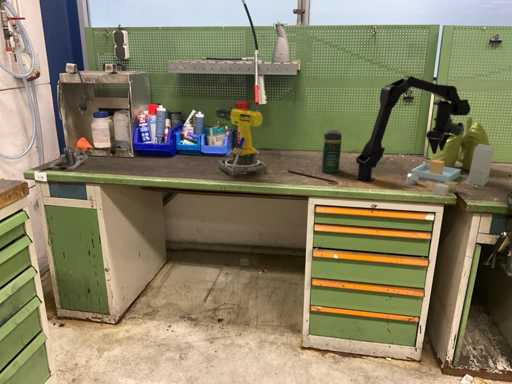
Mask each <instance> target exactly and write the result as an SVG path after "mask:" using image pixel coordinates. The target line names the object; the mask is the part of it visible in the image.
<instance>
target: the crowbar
mask: <svg viewBox="0 0 512 384" xmlns="http://www.w3.org/2000/svg"><path fill="white" fill-rule="evenodd" d="M287 173H289V174H293V175H299V176H302V177H306V178H311V179H317V180H320V181H324V182H326V183H327V184H329V185H338V184H339V182H338V181H337V180H333V179H329V178H324V177H321V176H317V175H316V176H315V175H312V174H307V173H302V172H299V171H293V170H290V169H288V168H287Z"/></svg>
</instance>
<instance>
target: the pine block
mask: <svg viewBox="0 0 512 384" xmlns="http://www.w3.org/2000/svg"><path fill="white" fill-rule="evenodd" d="M443 184H445V185H449V190H448V193H449V192H450V193H451V194H454V193H456V192H457V191H458V186H459V182H455V181H452V182H451V181H446V182H445V183H443Z"/></svg>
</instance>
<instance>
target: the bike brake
mask: <svg viewBox="0 0 512 384" xmlns="http://www.w3.org/2000/svg"><path fill="white" fill-rule="evenodd" d="M81 151H82V154H80V155H77V152H76V150H75V149H74V150H72V151H71V154H70V152H69V149H67V148H66V147H64V148H63V152H64V153H63V154H60V155H58V159H57V160H56V161H53V162H52V163H50V164H49V165H48V168H47V167H46V168H44V169H42V170H39V171H38V173H42V172H44V171H47V170H61V171H63V170H69V171H73V170H75V169H76V168H78V166H80V165H81V164H82V162H87V161H88V158H89V157H88V155H86V151H85V149H82V150H81ZM70 155H71V156H70ZM71 157H72V158H71ZM71 159H72V161H71ZM63 162H66V165H70V164H71V163H72V164H73V165H72V166H68V167H65V166H58V164H61V163H63ZM56 165H57V166H56Z"/></svg>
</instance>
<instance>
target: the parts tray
mask: <svg viewBox="0 0 512 384" xmlns="http://www.w3.org/2000/svg"><path fill="white" fill-rule="evenodd" d="M429 169H430V163H425V162H424V163H422V164H421V165H418V166H417V167H414V168H413V169H411V170H410V173H416V174H419V178H418V179H422V180H427V181H430V182H431V181H432V182H437V183H441V184H444V183H445V182H446V181H451V182H454V181H455V180H456V179H457V178H459V177H461V170H462V169H460V168H455V167H454V168H449V167H444V169H443V175H440V174H434V173H429Z"/></svg>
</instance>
